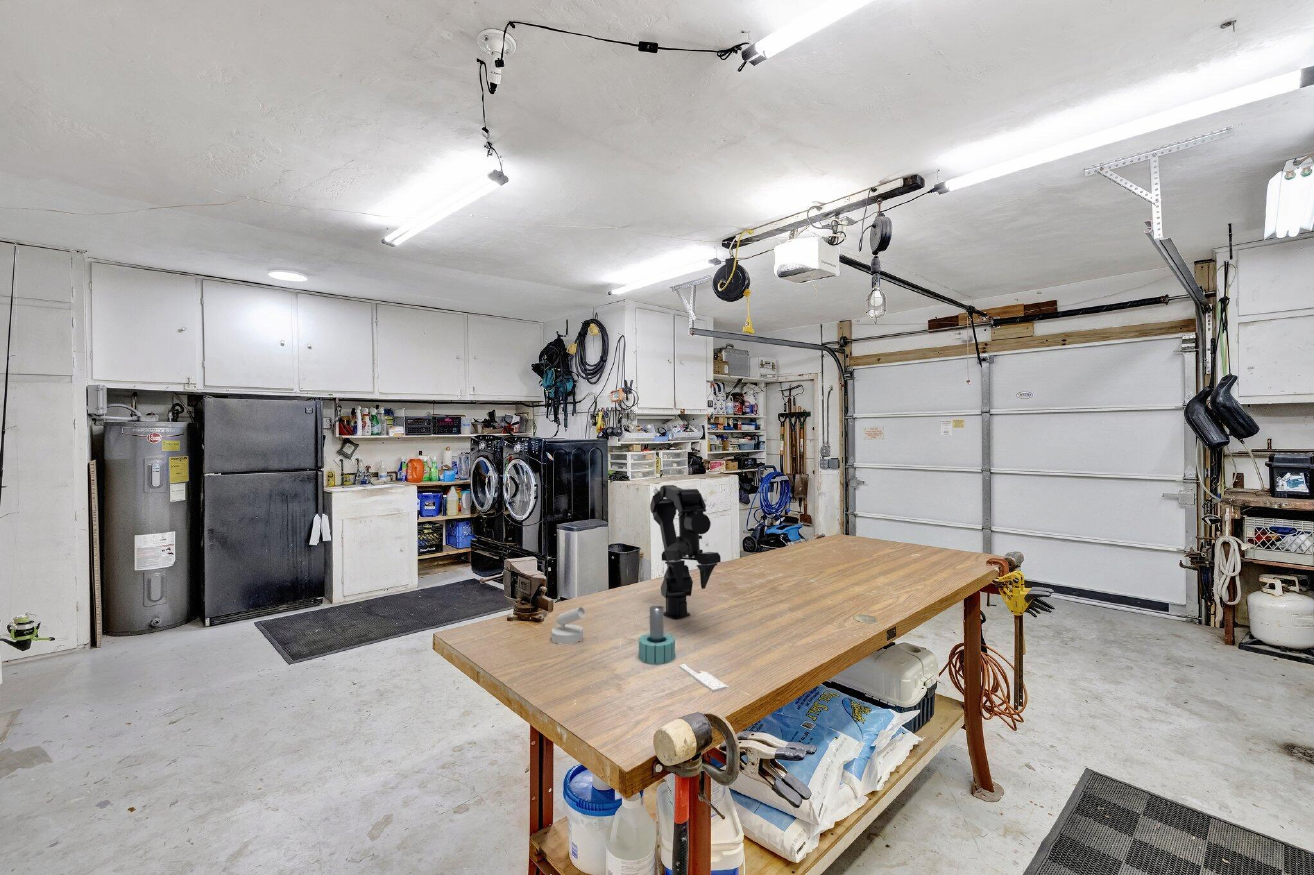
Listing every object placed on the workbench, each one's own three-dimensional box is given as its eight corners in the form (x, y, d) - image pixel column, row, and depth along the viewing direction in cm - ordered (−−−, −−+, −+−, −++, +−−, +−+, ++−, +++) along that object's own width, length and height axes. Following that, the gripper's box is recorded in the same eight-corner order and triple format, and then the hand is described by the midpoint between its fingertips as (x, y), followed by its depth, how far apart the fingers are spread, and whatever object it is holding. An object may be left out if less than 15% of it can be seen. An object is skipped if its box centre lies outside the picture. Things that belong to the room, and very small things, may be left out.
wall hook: (573, 612, 147) (544, 606, 152) (573, 647, 147) (545, 640, 152) (592, 603, 154) (565, 598, 159) (593, 637, 154) (565, 631, 159)
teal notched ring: (632, 655, 141) (631, 638, 141) (659, 647, 147) (659, 630, 147) (654, 667, 134) (654, 648, 134) (681, 657, 140) (681, 639, 140)
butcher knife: (696, 664, 137) (696, 660, 137) (731, 689, 123) (731, 684, 123) (678, 668, 134) (678, 663, 134) (712, 693, 121) (712, 688, 121)
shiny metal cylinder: (648, 655, 142) (647, 606, 142) (661, 653, 143) (660, 605, 143) (652, 660, 138) (652, 610, 138) (665, 658, 139) (665, 609, 139)
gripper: (647, 533, 162) (648, 588, 160) (693, 535, 148) (696, 594, 147) (674, 530, 169) (676, 582, 168) (720, 532, 156) (723, 588, 154)
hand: (691, 587), depth 159 cm, fingers open, 9 cm apart
